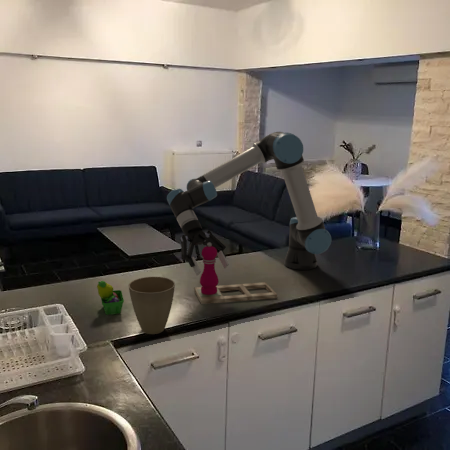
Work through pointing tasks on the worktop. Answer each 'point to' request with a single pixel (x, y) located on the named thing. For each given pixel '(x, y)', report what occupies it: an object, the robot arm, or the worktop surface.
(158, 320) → the plant pot
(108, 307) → the fruit basket
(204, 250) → the pepper mill
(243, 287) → the board
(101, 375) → the worktop surface
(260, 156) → the robot arm
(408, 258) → the worktop surface
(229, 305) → the worktop surface
